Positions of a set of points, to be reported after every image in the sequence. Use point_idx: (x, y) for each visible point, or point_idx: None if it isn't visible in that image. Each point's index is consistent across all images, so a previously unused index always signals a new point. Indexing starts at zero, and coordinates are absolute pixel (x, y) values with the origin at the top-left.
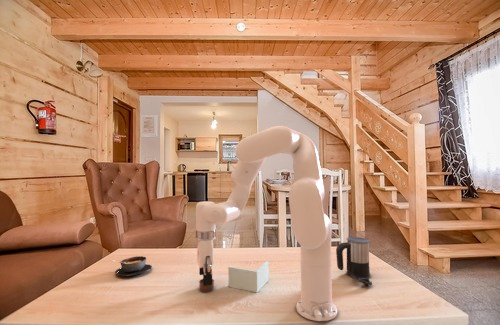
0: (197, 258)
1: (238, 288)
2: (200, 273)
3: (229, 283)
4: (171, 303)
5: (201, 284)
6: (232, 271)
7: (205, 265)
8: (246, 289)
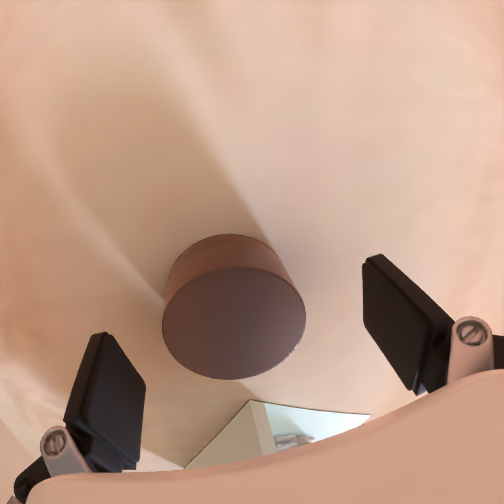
0: (436, 487)
1: (220, 432)
2: (370, 273)
3: (249, 419)
4: (10, 71)
5: (174, 291)
6: None
7: (410, 375)
8: (203, 453)
